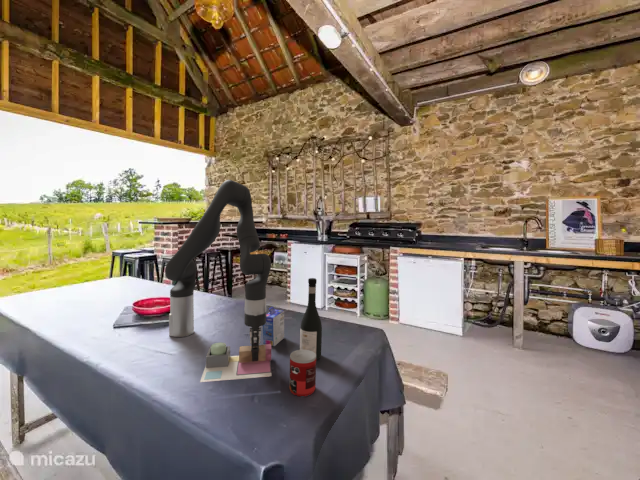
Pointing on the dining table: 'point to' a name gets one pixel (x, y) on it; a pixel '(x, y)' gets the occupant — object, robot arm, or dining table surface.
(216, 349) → the button
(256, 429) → the dining table surface
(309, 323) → the wine bottle
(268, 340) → the ink cartridge box
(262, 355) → the wooden block
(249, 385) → the dining table surface
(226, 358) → the button housing
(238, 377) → the colouring board
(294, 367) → the canned food
